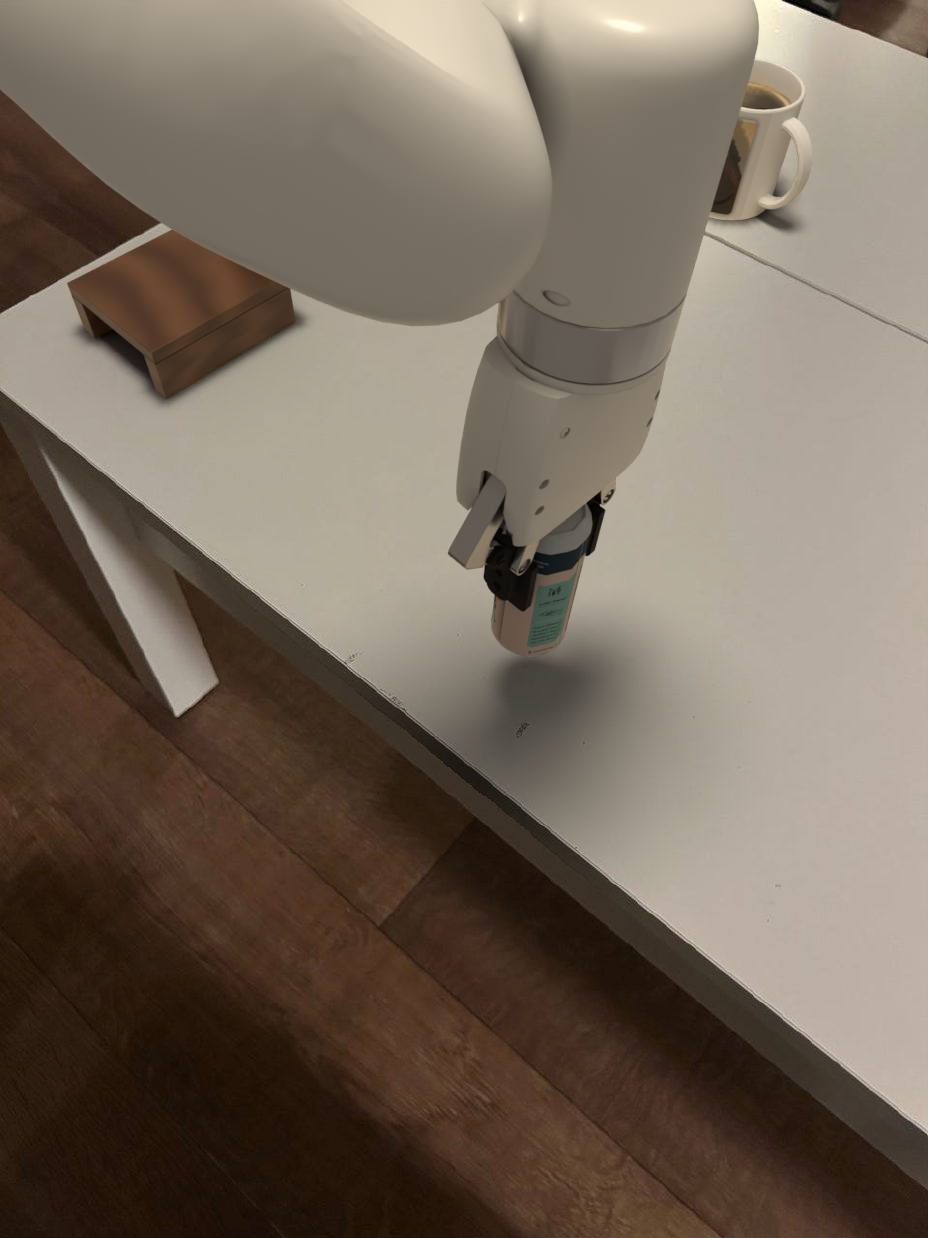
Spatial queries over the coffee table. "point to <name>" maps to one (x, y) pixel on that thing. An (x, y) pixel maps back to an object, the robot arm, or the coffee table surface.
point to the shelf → (181, 308)
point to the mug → (763, 145)
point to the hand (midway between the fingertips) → (539, 564)
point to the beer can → (546, 590)
